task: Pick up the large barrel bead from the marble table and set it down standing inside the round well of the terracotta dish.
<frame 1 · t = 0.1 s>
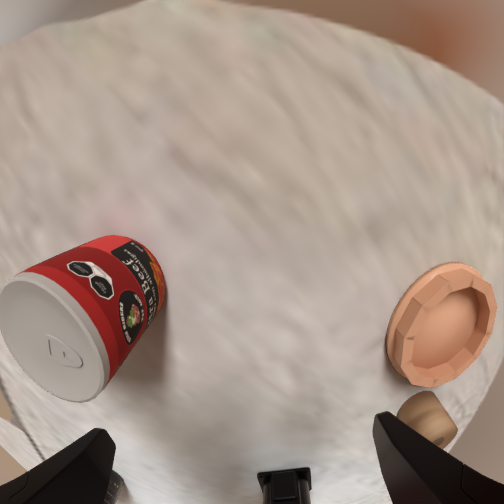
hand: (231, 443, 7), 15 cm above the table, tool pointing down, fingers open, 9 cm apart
dish: (440, 323, 22), on the table
supplement bottle: (105, 472, 30), on the table
canned food: (124, 278, 22), on the table
bead: (416, 407, 25), on the table
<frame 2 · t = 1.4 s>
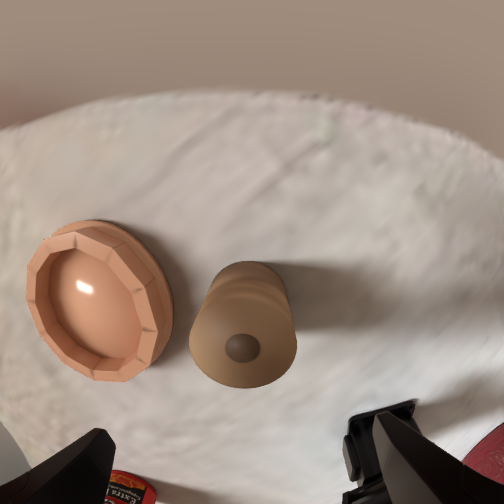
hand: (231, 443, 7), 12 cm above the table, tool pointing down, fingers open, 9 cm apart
dish: (99, 300, 19), on the table
canned food: (131, 483, 26), on the table
bead: (247, 298, 19), on the table
canister: (488, 446, 25), on the table
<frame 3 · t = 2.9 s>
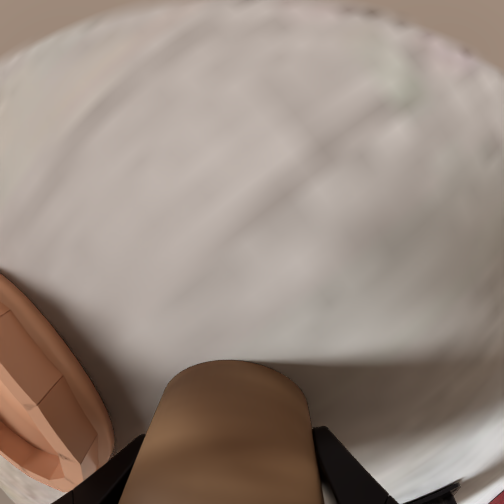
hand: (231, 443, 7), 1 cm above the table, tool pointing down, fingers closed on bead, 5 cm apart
dish: (12, 380, 9), on the table
bead: (234, 417, 9), on the table, touching gripper
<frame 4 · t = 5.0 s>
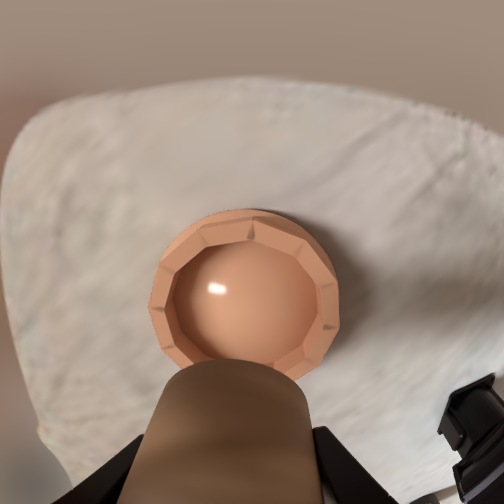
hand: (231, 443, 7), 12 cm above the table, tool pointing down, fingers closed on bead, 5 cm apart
dish: (245, 302, 19), on the table
supplement bottle: (418, 502, 28), on the table
bead: (233, 416, 9), point 10 cm above the table, touching gripper
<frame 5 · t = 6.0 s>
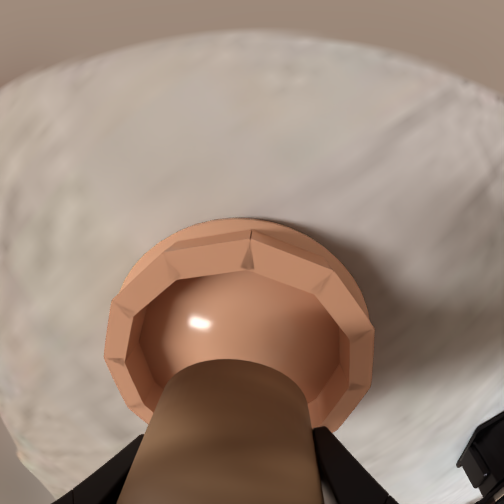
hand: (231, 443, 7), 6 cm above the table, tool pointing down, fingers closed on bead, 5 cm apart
dish: (239, 347, 13), on the table
bead: (233, 416, 9), point 5 cm above the table, touching gripper
when the fingers open (3 cm above the table, at t = 6.9 s): bead drops 1 cm, resting on dish.
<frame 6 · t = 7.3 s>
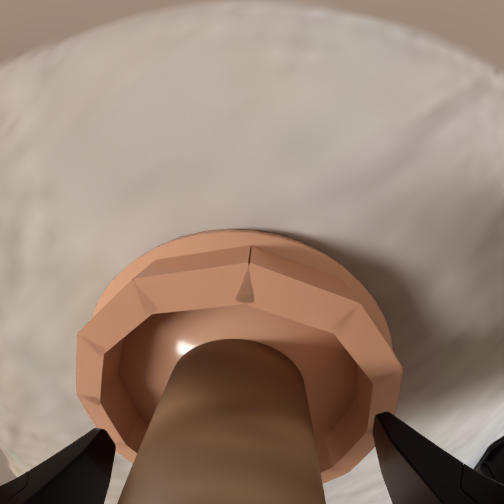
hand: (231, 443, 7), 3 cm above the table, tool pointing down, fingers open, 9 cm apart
dish: (237, 382, 11), on the table
bead: (236, 394, 10), point 1 cm above the table, touching dish
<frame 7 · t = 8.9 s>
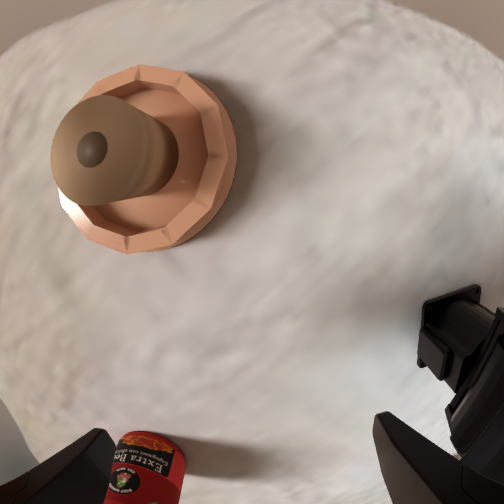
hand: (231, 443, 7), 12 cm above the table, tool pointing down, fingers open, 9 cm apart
dish: (144, 158, 17), on the table
canned food: (153, 450, 24), on the table
bead: (140, 156, 16), point 1 cm above the table, touching dish
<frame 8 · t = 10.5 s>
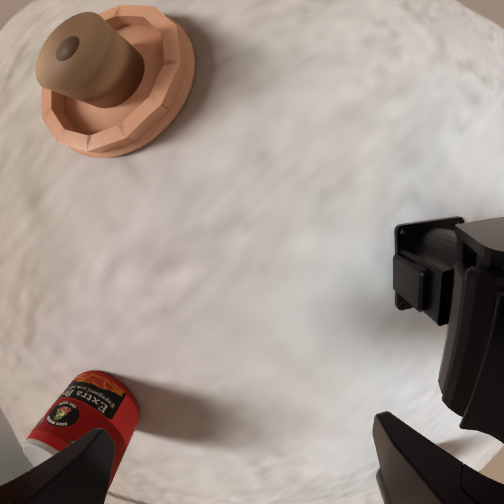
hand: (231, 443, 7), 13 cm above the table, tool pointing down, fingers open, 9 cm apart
dish: (117, 80, 17), on the table
supplement bottle: (398, 463, 26), on the table
canned food: (108, 398, 24), on the table
bead: (113, 76, 16), point 1 cm above the table, touching dish
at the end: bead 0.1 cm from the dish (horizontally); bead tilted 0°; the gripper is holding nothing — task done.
